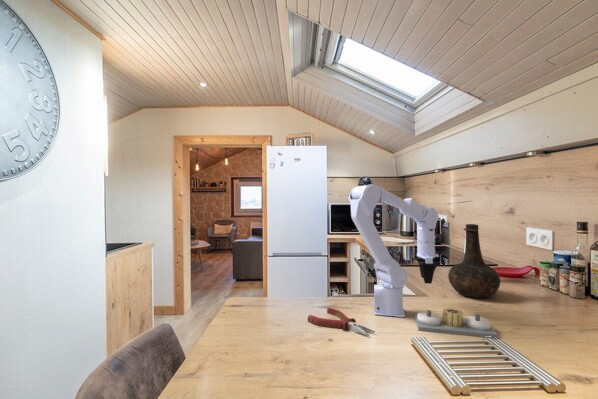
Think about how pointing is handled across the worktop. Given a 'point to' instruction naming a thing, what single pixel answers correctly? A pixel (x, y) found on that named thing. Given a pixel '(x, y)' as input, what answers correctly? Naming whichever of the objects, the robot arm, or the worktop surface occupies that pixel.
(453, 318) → the brass gear
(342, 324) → the pliers
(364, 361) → the worktop surface
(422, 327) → the gear board
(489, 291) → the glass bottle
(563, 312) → the worktop surface
